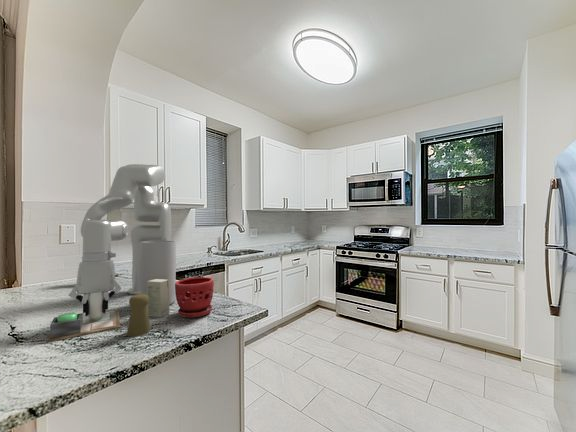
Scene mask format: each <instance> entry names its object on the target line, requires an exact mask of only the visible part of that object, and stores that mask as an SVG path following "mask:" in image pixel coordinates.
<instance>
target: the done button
mask: <svg viewBox="0 0 576 432" xmlns="http://www.w3.org/2000/svg"><path fill="white" fill-rule="evenodd" d="M77 314H78V312H67V313H62V314H60V315H58V316H57V317H58V319H57V323H59V322H65V321H71V320H77Z"/></svg>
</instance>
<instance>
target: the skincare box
mask: <svg viewBox="0 0 576 432" xmlns="http://www.w3.org/2000/svg"><path fill="white" fill-rule="evenodd" d="M147 295H148V297H149V303H148V304H147V310H148V317H157V318H162V317H163V316H164V317H165V316H167V315H169V314H170V305H169V280H166V279H154V280H150V281H147Z"/></svg>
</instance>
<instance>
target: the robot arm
mask: <svg viewBox="0 0 576 432" xmlns="http://www.w3.org/2000/svg"><path fill="white" fill-rule="evenodd" d="M165 178H166V171H165V169H164V167H163V166H162V165H159V164H143V163H142V164H140V163H139V164H138V163H137V164H136V163H135V164H133V163H132V164H126V165H124V166H120V167H118V169H117V170H116V173H115V176H114V178H113V180H112V184H111V186H110V188H109V192H108V194H107V195H105V196H104V197H102V198H100V199H99V200H97V201H96V202H95V203H94V204H92V205H91V206H90V207H89V208H88V209H87V210H86V213H85V215H84V217H83V220H82V222H81V225H80V236H81V237H82V257H83V258H82V257H81V259H82V261H80V262H79V263H78V264H79V265H78V267H77V268H78V269H77V275H76V284H75V285H74V286H73V288H72V290H71V291H69V294H68V296H69V297H71V298H74V299H75V300H77V301H79V302H80V303H82V313H83V314H84V315H85V316H87V315H88V307H89V303H88V295H89V293H92V292H93V290H99V291H100V292H103V293H104V299H103V313H105V312H107V311H108V310H109V300H110V299H111V298H112V297H113V296H114V295H115V294H117V293H118V292H120V291H121V290H122V287H121V285H120V284H119V283H118V281H116V277H115V275H116V273H115V271H116V270H115V263H114V260H112V258H116V257H117V255H116V252H111V251H112V241H114V242H118V241H123V240H124V239H126V238H127V237H128V235H129V233H130V241H131V242H130V243H131V249H132V250H131V251H132V258H131V260H132V263H131V266H132V267H131V268H132V270H131V272H132V273H131V288H129V289H128V290H127V293H128V294H129V295H137V294H141V252H142V242H145V241H172V240H171V239H172V210H171V207H170V205H169V204H168V203H167V202H163V201H162V202H157V201H155V192H154V190H153V188H152V187H156V186H159V185H161V184H162V183H163V182H164V180H165ZM131 204H133V216H134V219H135V221H137V222H140V223H142V222H143V223H158V224H138V225H136V226H134V227H132V228H131V230H130V226H129V224H128V223H127V222H125V221H124V220H120V219H102V218H103V217H104V216H106V215H107V214H109V213H112V212H114V211H117V210H120V209H122V208H126V207H128V206H130V205H131Z"/></svg>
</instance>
